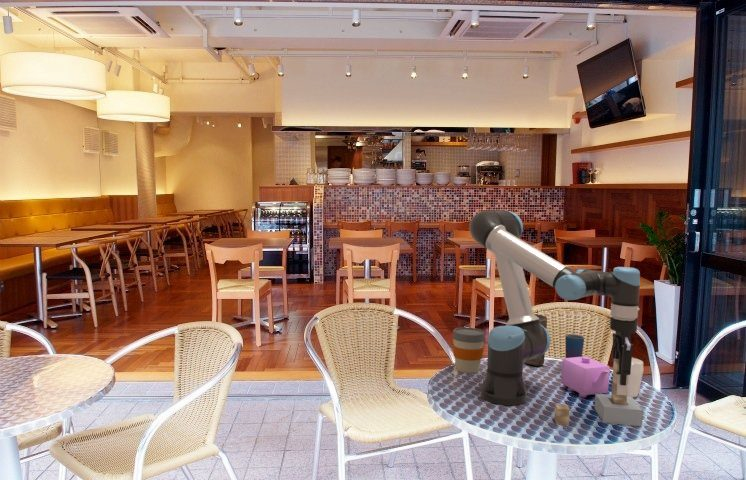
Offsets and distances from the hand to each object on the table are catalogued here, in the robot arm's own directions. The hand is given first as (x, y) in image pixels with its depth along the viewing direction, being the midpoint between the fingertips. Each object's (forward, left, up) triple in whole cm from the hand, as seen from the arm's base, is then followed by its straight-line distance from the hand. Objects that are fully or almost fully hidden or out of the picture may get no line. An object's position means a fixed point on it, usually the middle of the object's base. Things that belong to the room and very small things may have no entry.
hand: (619, 391), depth 167 cm
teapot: (-5, +19, -8) cm, 21 cm away
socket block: (0, 0, -8) cm, 8 cm away
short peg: (-18, -8, -8) cm, 21 cm away
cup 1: (-6, +39, -8) cm, 40 cm away
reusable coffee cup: (-46, +36, -8) cm, 59 cm away
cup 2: (+9, +22, -8) cm, 25 cm away
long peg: (0, 0, -4) cm, 4 cm away
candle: (-19, +48, -8) cm, 52 cm away
